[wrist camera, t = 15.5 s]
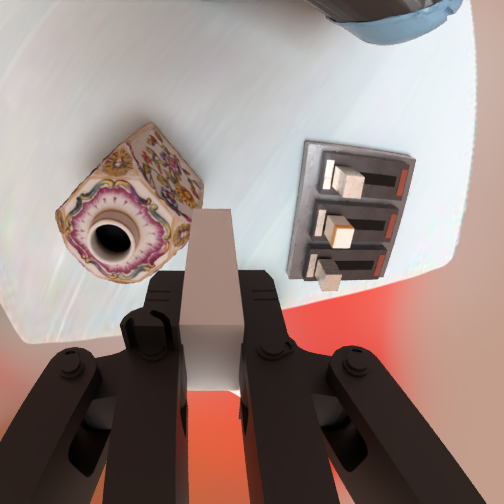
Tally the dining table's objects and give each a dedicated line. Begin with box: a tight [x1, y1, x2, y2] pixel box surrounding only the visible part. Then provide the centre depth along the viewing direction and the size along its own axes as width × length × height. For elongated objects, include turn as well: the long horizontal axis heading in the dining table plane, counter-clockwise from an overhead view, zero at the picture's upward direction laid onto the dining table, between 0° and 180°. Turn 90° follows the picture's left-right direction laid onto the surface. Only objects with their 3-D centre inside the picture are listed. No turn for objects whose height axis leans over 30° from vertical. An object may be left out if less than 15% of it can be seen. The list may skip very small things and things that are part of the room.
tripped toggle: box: [324, 215, 354, 248], centre depth 41 cm, size 3×2×4 cm
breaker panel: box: [287, 141, 416, 291], centre depth 43 cm, size 21×17×8 cm
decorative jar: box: [55, 123, 204, 284], centre depth 33 cm, size 12×12×18 cm
